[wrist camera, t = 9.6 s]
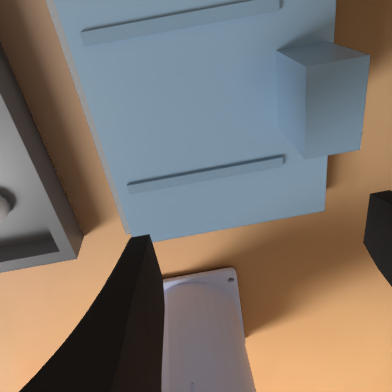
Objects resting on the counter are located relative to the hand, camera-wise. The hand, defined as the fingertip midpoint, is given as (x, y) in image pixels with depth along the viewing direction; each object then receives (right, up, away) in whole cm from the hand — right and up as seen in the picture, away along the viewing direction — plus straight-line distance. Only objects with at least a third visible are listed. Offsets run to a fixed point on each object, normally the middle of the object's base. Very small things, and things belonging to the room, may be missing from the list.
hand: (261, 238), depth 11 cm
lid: (-1, +7, +7) cm, 10 cm away
